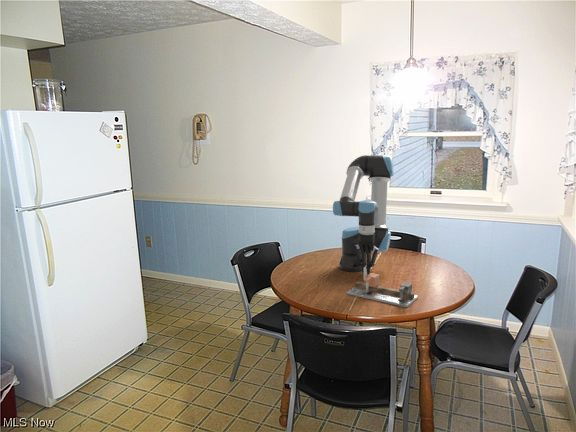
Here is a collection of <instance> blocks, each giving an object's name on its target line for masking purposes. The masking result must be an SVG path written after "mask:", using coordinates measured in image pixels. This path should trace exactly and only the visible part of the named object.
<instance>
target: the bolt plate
mask: <svg viewBox="0 0 576 432" xmlns="http://www.w3.org/2000/svg"><path fill="white" fill-rule="evenodd" d="M346 294H347V295H350V296H354V297H359V298H363V299H367V300H373V301H376V302H380V303H385V304H388V305H389V304H390V305H394V306H398V307H402V308H406V309H407V308H409V307H410V306H411V305H412V304H413V303H414V302H415V301H416V300H417V299H418V298H419V297H418V296H419V295H417V294H414V298H413V299H410V298H405V297H403V301H400V296H396V295H392V294H387V293H382V292H378V291H373V290H369V289H368V293H366V289H364V288H360V287H356V285H355V286H353V287H352V288H351V289H348V290H347V291H346Z"/></svg>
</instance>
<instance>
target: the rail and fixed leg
mask: <svg viewBox="0 0 576 432" xmlns="http://www.w3.org/2000/svg"><path fill="white" fill-rule="evenodd" d="M355 286H356V287H360V288H364V289H366V285H365V282H363V281H356V282H355ZM368 289H369V290H373V291H378V292H382V293H387V294H392V295H396V296H400V301H403V297H405V298H410V299H413V298H414V295H416V293H415V292H413V283H411V282H407V281H403V283H401V284H400V288H399V289H396V288H392V287H387V286H381V285H378V286H376V287H370V286H368Z"/></svg>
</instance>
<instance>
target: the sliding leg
mask: <svg viewBox="0 0 576 432" xmlns="http://www.w3.org/2000/svg"><path fill="white" fill-rule="evenodd" d="M380 276H381V275H380V274H378V273H374V272H370V274H367V275H366V276H365V281H364V283H365V285H366V293H368V286H370V287H376V286H380Z"/></svg>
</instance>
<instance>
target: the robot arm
mask: <svg viewBox="0 0 576 432" xmlns="http://www.w3.org/2000/svg"><path fill="white" fill-rule="evenodd" d="M393 176H394V163H393V159H392V156H391V155H390V154H389V155H388V154H387V155H386V154H385V155H384V154H375V155H372V154H371V155H366V154H365V155H360V156H358V157H356V158H355V159H353V161H351V163H349V166H348V167H347V169H346V178H345V182H344V183H343V188H342V191H341V195H340V197H339V200H335V201H333V203H332V204H333V205H332V212H333V215H334V216H337V217H338V216H340V217H358V226H350V227H347V228H344V229H343V230H342V234H341V249H342V250H341V254H342V255H341V257H340V260H339V263H338V267H339V269H340V270H341V271H346V272H352V273H353V272H362V274H363V281H364V282H365V276H366V275H367V274H370V273H371V268H373V267H375V264H376V260H377V258H378V253H385V252H387V251H388V250H389V247H390V243H391V236H392V232H391V231H390V230H389V227H388V226H387V225H386V224H387V223H386V222H387V221H386V220H387V203H388V201H387V198H388V183H389V181H391V177H393ZM363 177H368V178H369V180H370V181H371V195H370V200H366V199H365V200H360V201H355V200H356V196H357V193H358V191H359V190H358V189H359V185H360V183H361V179H363Z"/></svg>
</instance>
